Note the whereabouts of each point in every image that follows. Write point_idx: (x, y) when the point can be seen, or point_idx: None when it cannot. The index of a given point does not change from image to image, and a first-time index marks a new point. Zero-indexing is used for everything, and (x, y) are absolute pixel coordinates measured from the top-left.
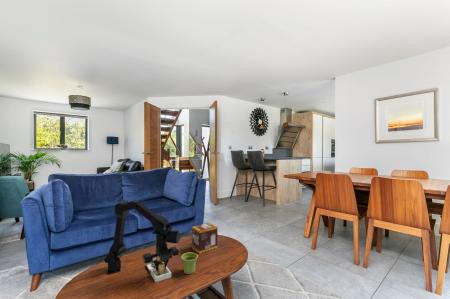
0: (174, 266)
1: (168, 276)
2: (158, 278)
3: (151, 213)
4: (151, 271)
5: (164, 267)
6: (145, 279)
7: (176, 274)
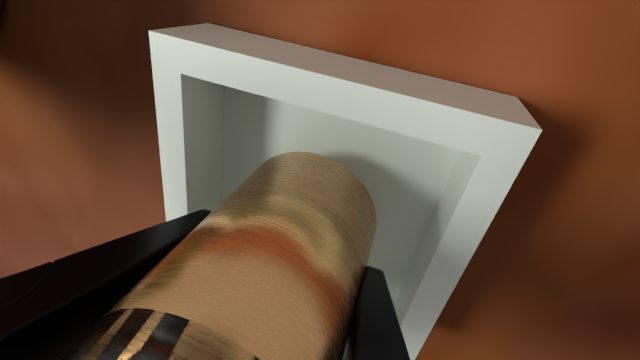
0: (104, 221)
1: (243, 39)
2: (455, 95)
3: None
4: (417, 351)
5: (198, 225)
6: (555, 295)
7: (116, 31)
